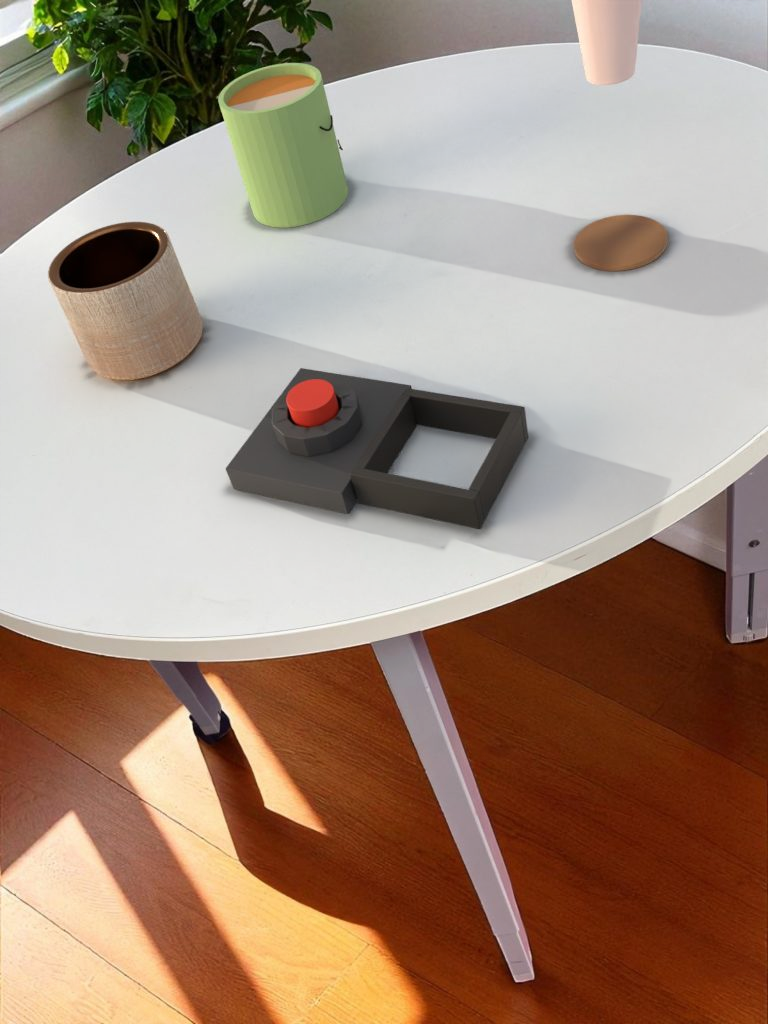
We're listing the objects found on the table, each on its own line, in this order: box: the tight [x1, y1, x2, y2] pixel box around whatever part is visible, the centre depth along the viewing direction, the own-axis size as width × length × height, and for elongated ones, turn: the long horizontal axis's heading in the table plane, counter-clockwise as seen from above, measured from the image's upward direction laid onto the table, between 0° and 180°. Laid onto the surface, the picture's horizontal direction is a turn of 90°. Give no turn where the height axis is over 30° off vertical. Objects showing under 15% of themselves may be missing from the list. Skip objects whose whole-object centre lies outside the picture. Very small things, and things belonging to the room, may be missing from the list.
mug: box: [217, 62, 349, 228], centre depth 107 cm, size 13×10×12 cm
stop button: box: [286, 379, 339, 428], centre depth 79 cm, size 4×4×2 cm
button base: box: [225, 367, 413, 515], centre depth 81 cm, size 10×12×4 cm
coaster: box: [573, 214, 669, 272], centre depth 93 cm, size 8×8×1 cm
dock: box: [350, 388, 529, 530], centre depth 77 cm, size 10×10×3 cm
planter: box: [47, 221, 204, 381], centre depth 93 cm, size 11×11×10 cm
